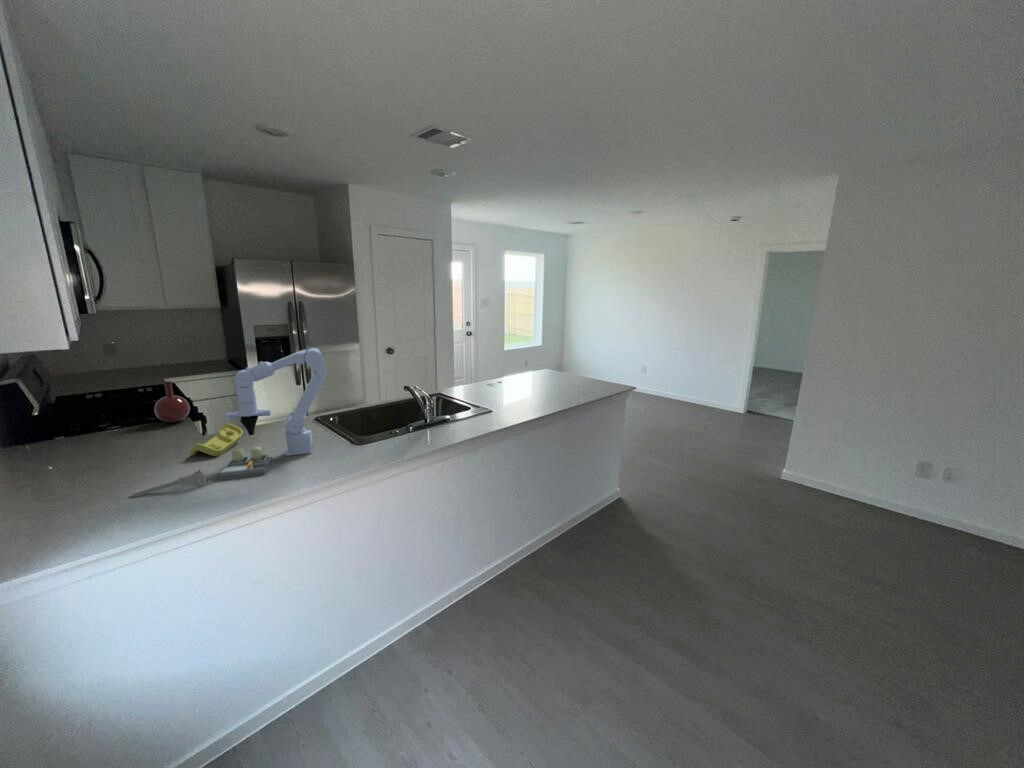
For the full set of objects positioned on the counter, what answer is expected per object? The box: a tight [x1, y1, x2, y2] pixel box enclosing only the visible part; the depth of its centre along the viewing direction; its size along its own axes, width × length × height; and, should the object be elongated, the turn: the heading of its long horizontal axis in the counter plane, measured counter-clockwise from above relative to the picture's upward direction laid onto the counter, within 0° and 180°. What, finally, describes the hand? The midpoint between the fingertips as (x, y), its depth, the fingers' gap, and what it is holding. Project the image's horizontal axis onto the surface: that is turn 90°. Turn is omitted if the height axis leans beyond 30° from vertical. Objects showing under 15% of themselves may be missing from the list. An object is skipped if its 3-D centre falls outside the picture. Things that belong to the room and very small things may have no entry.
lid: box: [222, 461, 253, 472], centre depth 144 cm, size 9×4×3 cm, turn 110°
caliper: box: [127, 469, 207, 498], centre depth 132 cm, size 20×1×6 cm, turn 116°
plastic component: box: [189, 422, 244, 457], centre depth 167 cm, size 20×7×10 cm
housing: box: [218, 446, 273, 480], centre depth 148 cm, size 14×13×7 cm
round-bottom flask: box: [153, 380, 191, 423], centre depth 192 cm, size 13×13×20 cm
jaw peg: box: [231, 447, 245, 463], centre depth 150 cm, size 4×4×6 cm
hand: (251, 434), depth 156 cm, fingers closed
